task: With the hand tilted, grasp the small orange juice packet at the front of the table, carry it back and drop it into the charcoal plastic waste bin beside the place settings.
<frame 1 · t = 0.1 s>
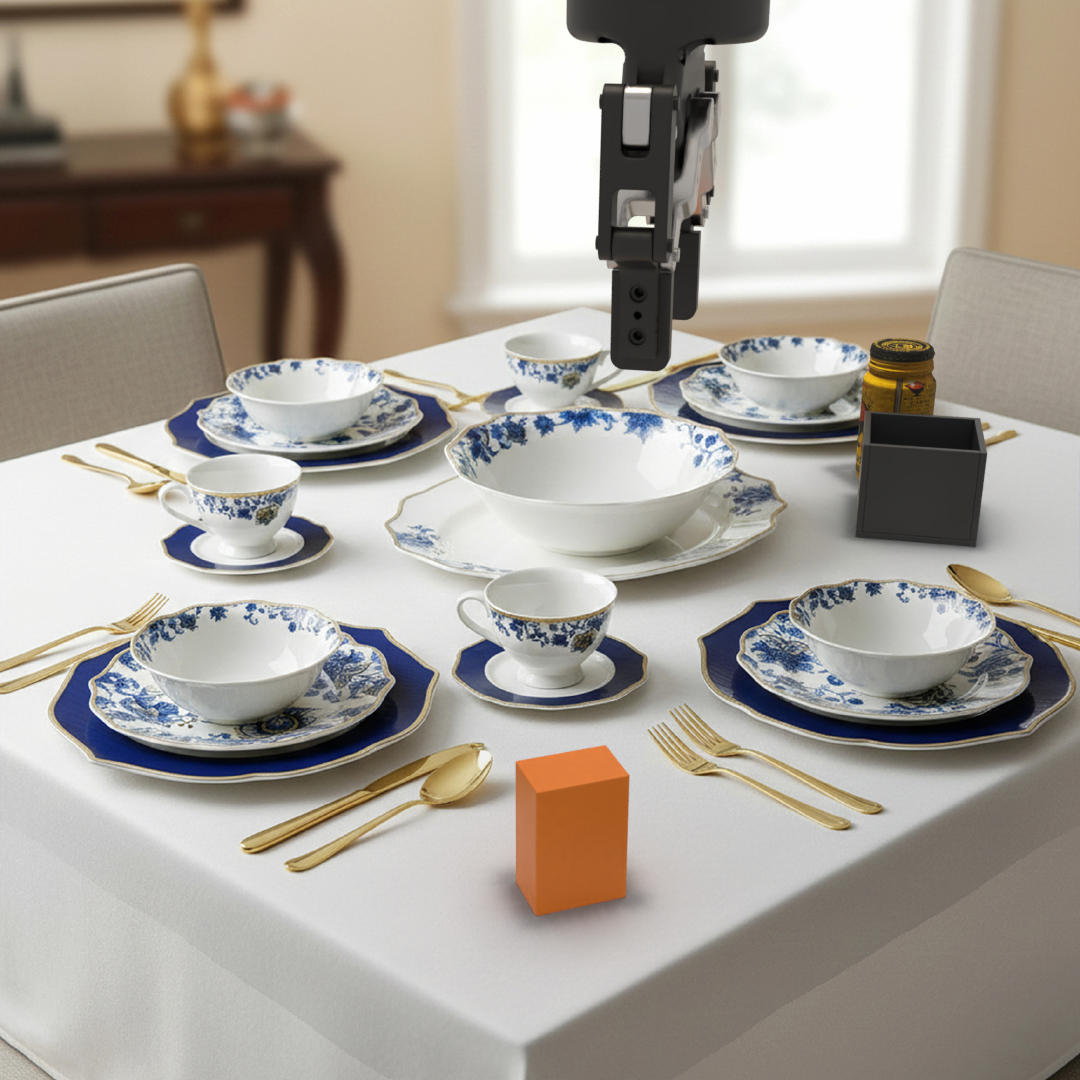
hand: (656, 341, 59), 28 cm above the table, tool pointing down, fingers open, 8 cm apart
packet: (570, 893, 71), on the table
condiment: (899, 482, 126), on the table
bin: (913, 524, 116), on the table
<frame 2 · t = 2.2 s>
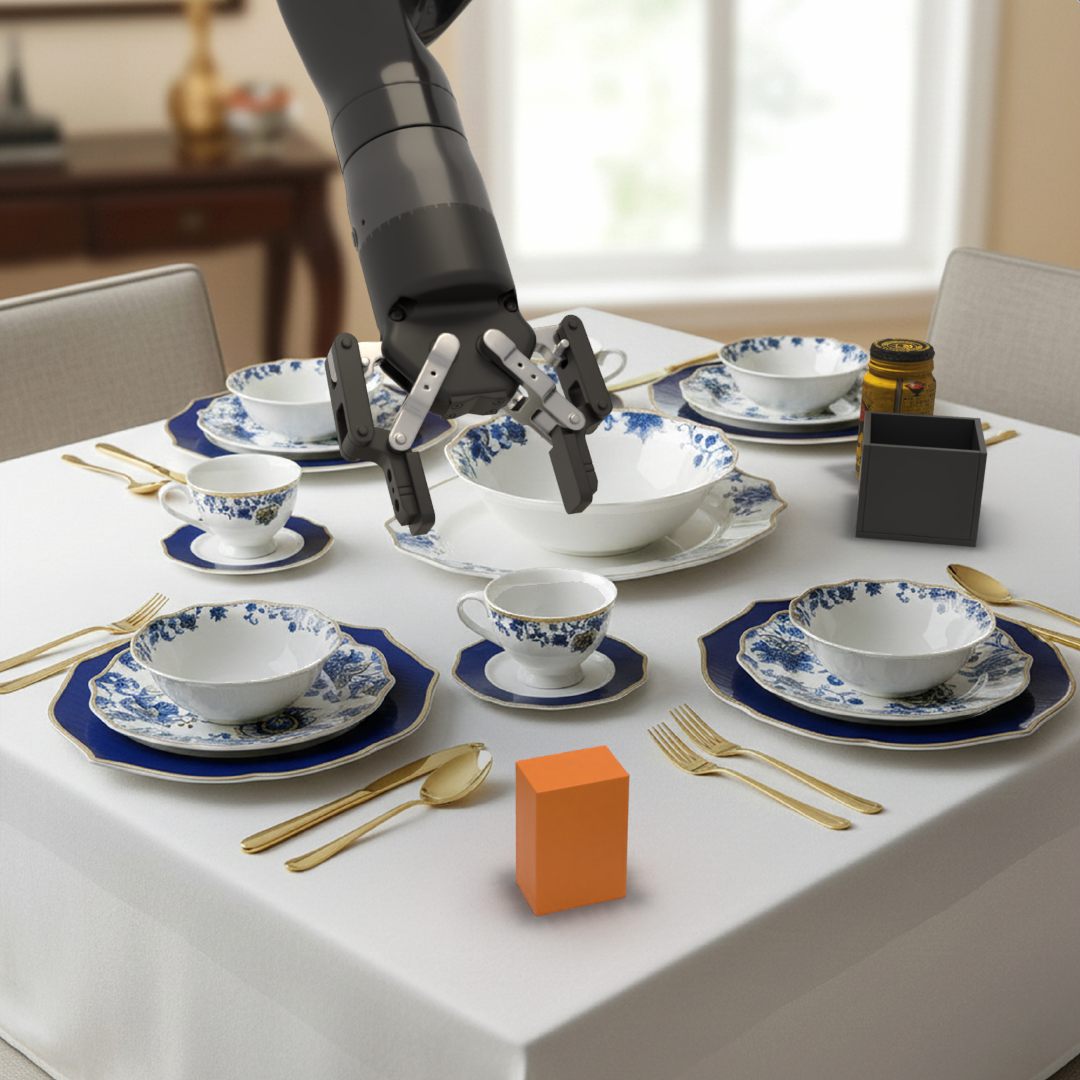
hand: (504, 519, 73), 16 cm above the table, tool tilted 40°, fingers open, 8 cm apart
nothing on the table moved.
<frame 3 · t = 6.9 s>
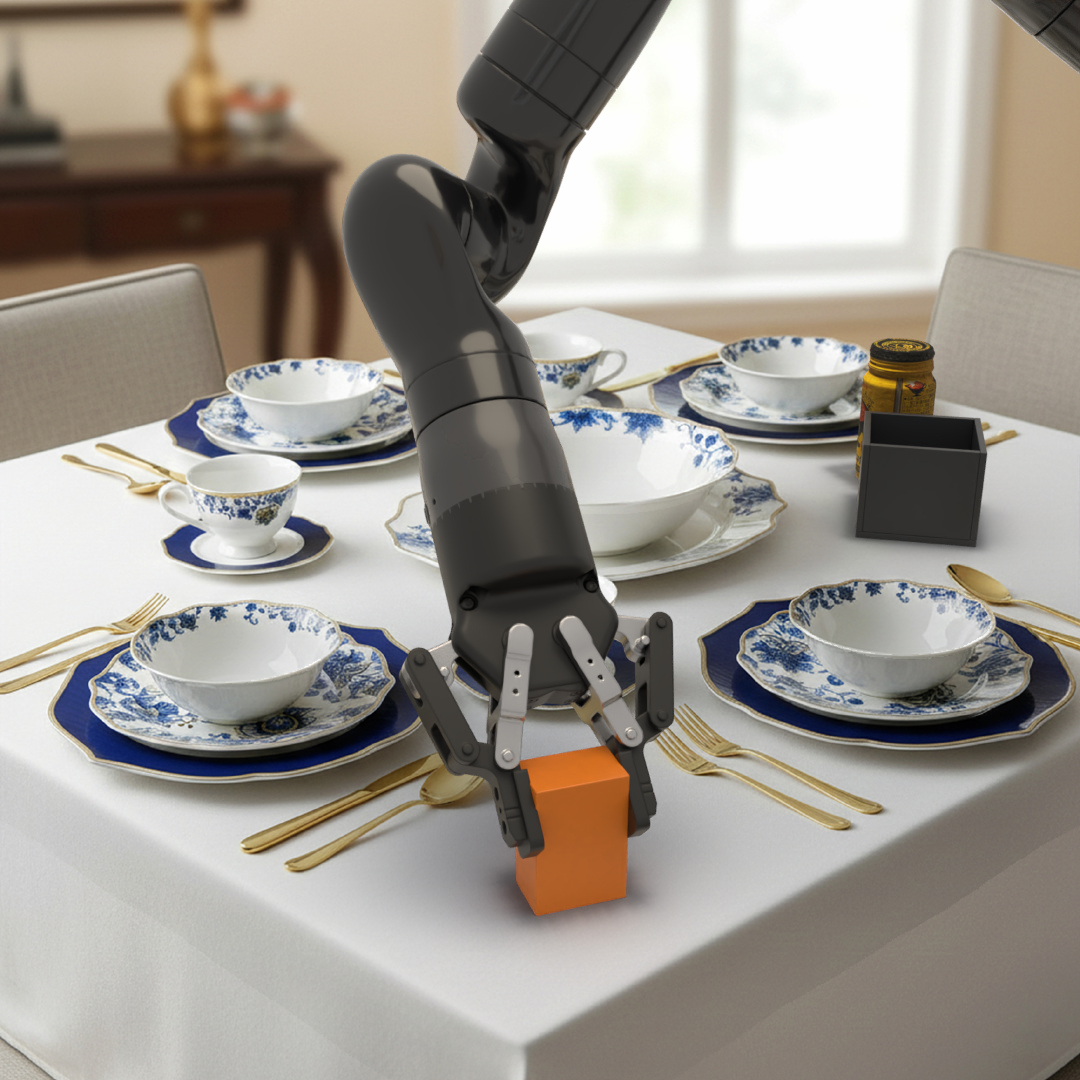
hand: (586, 841, 68), 4 cm above the table, tool tilted 45°, fingers closed on packet, 4 cm apart
packet: (570, 893, 71), on the table, touching gripper
everything else where it was.
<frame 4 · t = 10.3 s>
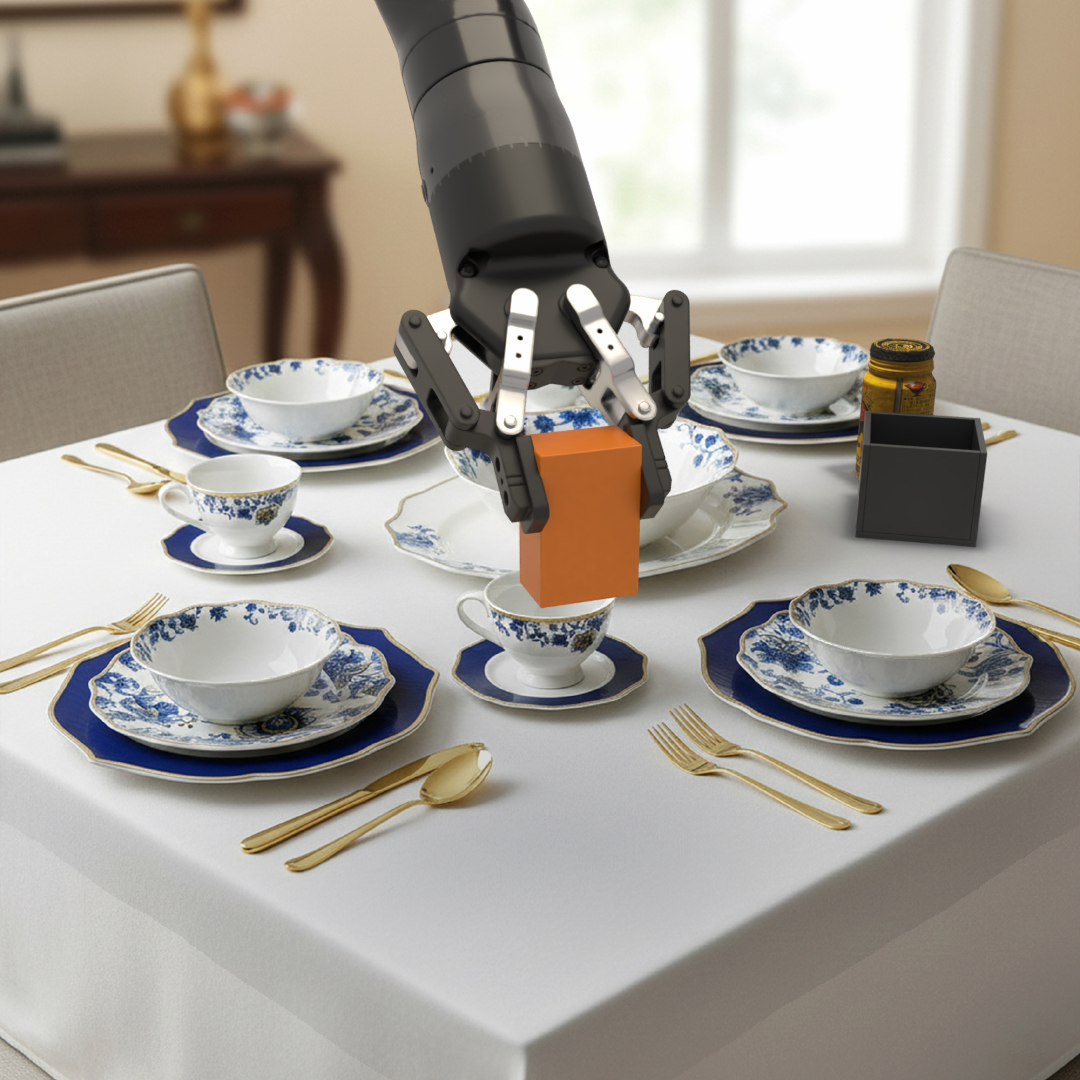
hand: (595, 517, 62), 20 cm above the table, tool tilted 45°, fingers closed on packet, 4 cm apart
packet: (578, 588, 66), point 16 cm above the table, touching gripper
everything else where it was.
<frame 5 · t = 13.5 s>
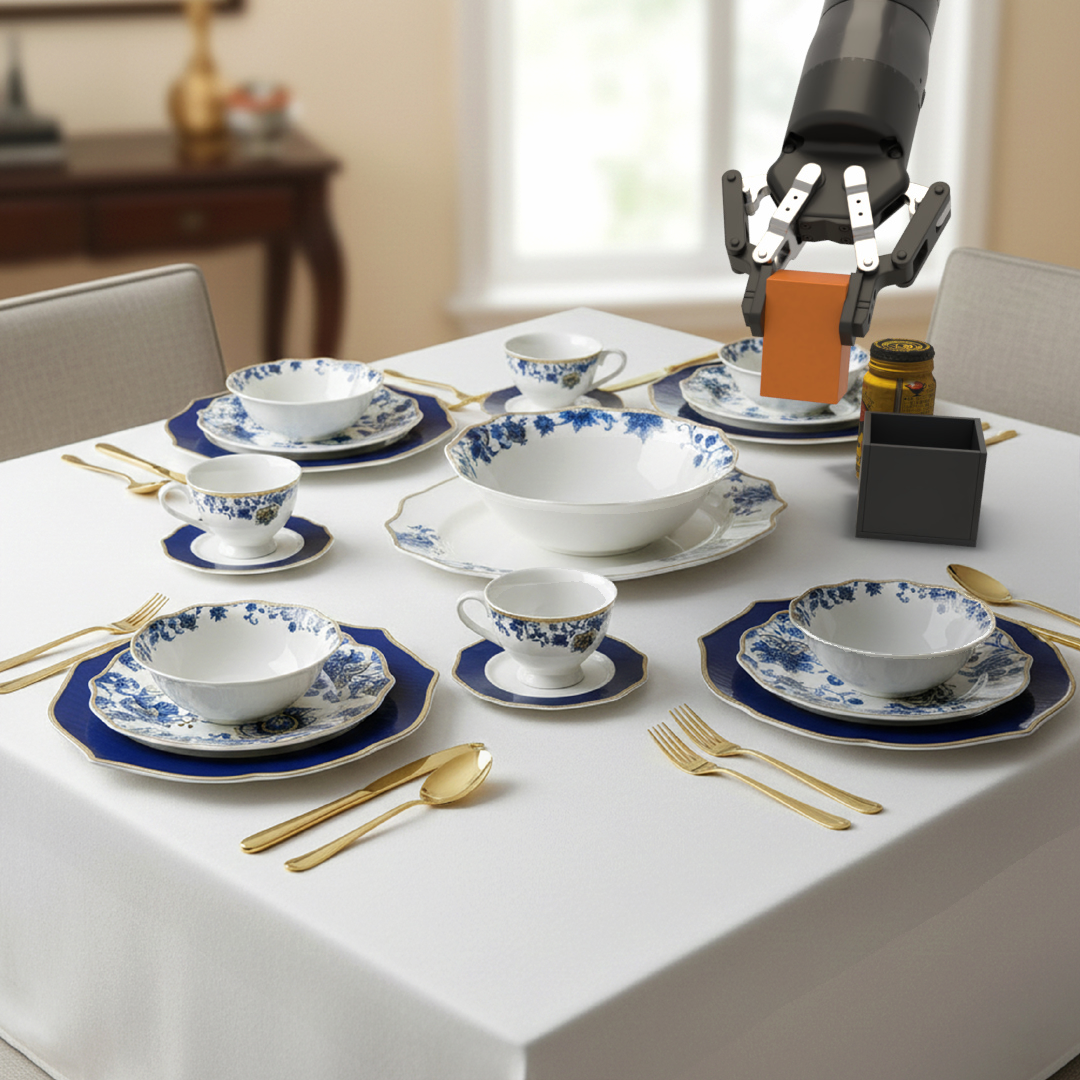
hand: (801, 333, 84), 22 cm above the table, tool tilted 45°, fingers closed on packet, 4 cm apart
packet: (803, 394, 87), point 18 cm above the table, touching gripper
everything else where it was.
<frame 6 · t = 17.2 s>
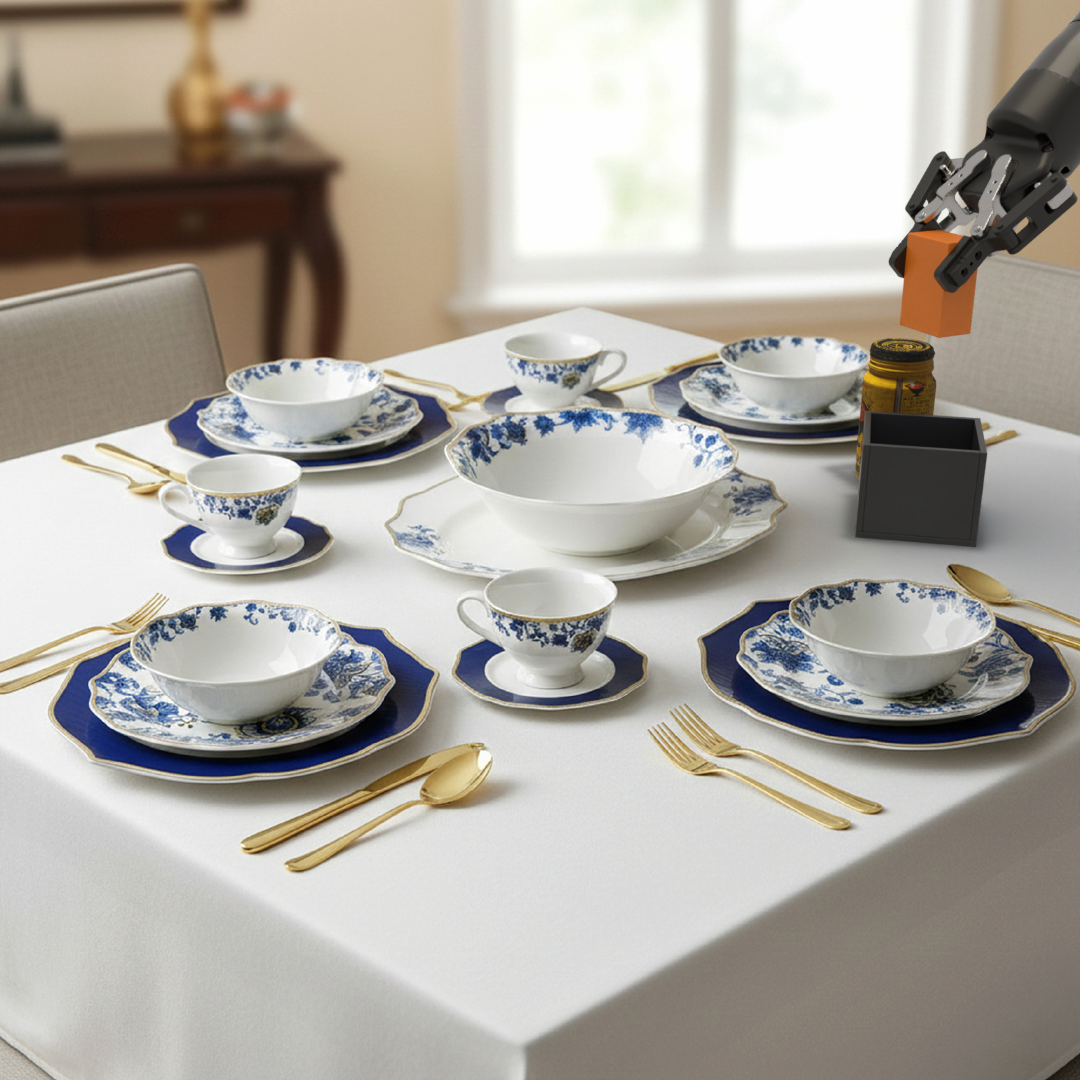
hand: (919, 277, 108), 20 cm above the table, tool tilted 45°, fingers closed on packet, 4 cm apart
packet: (934, 329, 110), point 16 cm above the table, touching gripper
everything else where it was.
when the fingers open (10 cm above the table, at t = 20.4 s): packet drops 5 cm, resting on bin.
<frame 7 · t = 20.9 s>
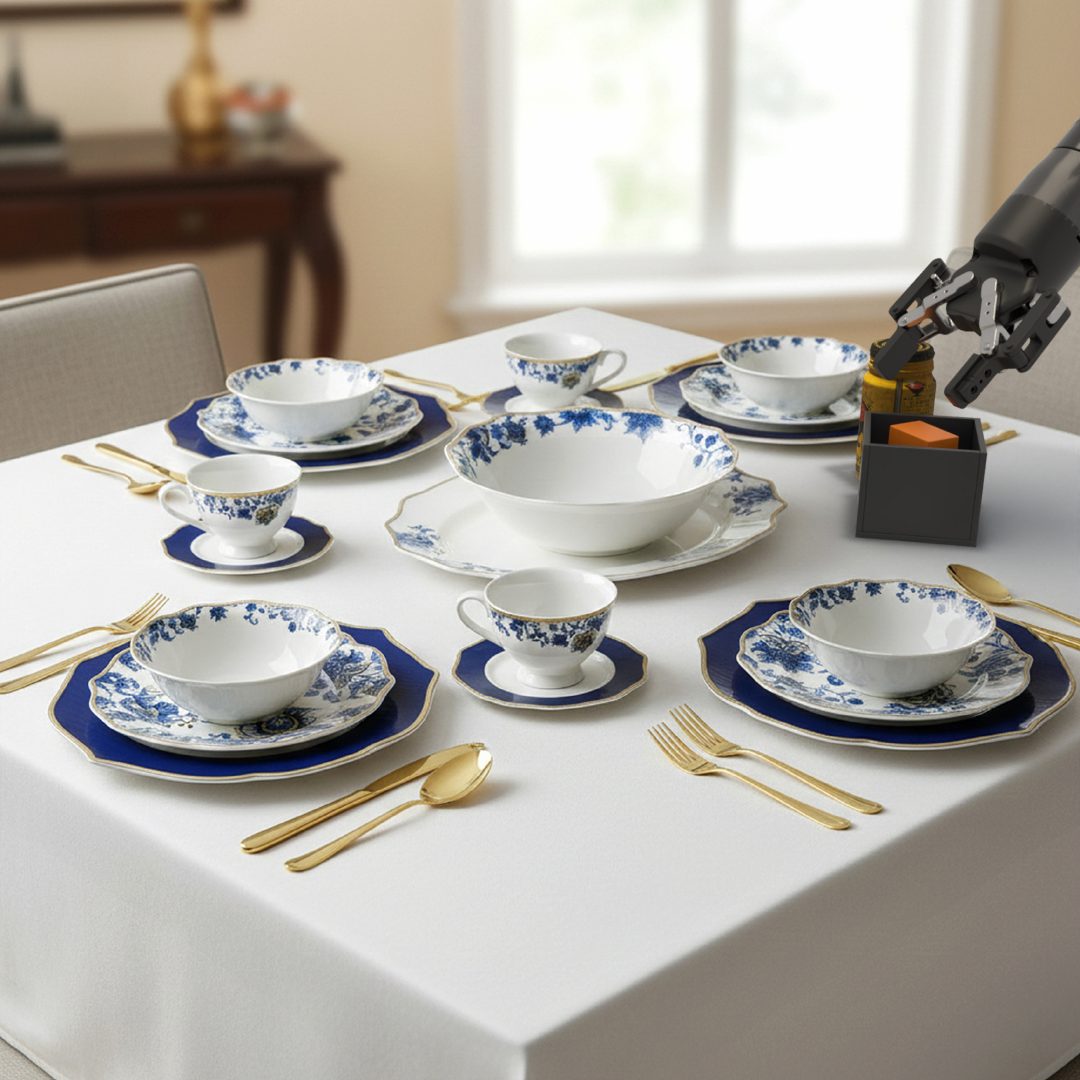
hand: (915, 387, 111), 11 cm above the table, tool tilted 45°, fingers open, 8 cm apart
packet: (915, 515, 116), point 1 cm above the table, touching bin
everything else where it was.
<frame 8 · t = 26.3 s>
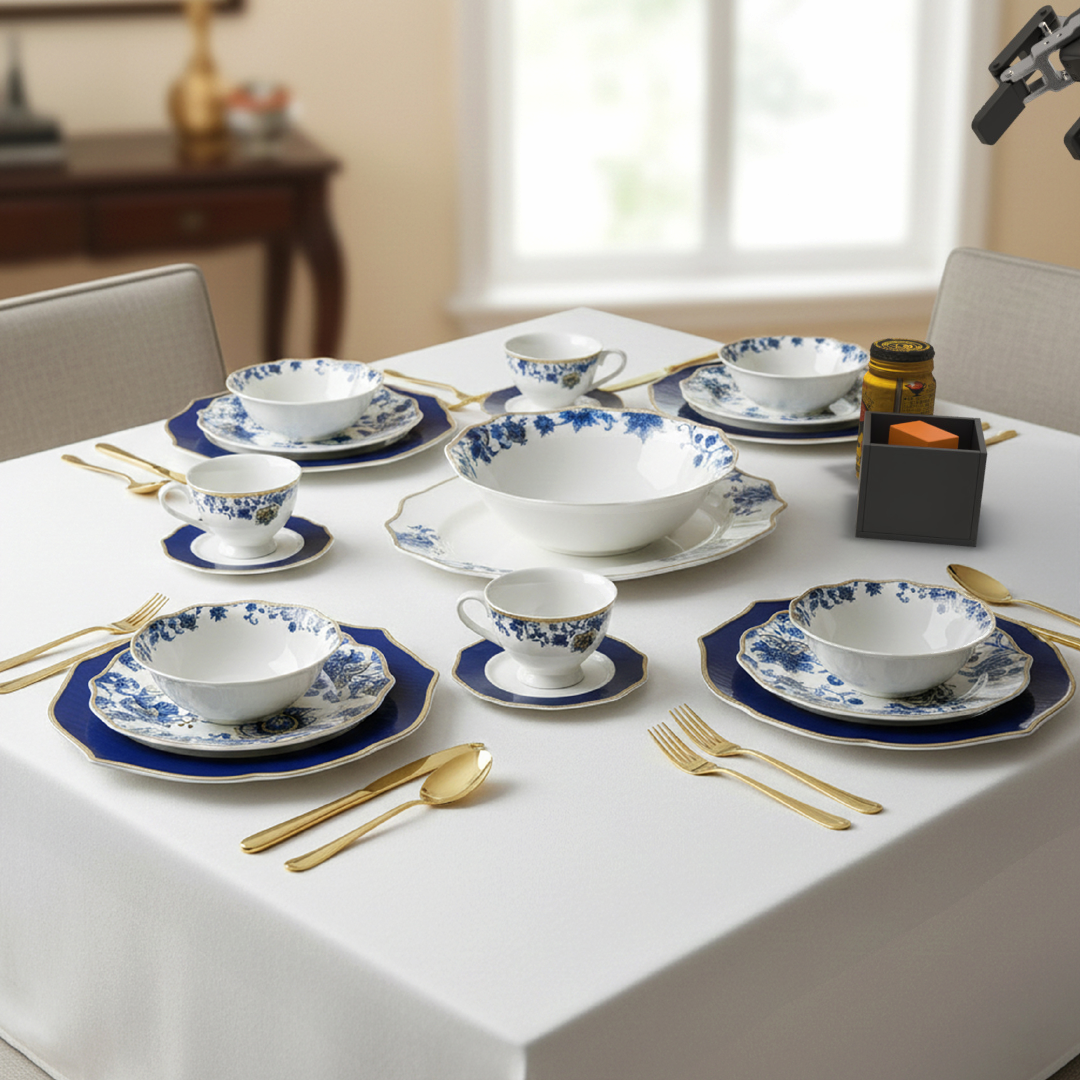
hand: (1025, 144, 95), 31 cm above the table, tool tilted 45°, fingers open, 8 cm apart
nothing on the table moved.
at the end: packet inside the target area in the bin (0.1 cm from its centre), point 0.8 cm above the bin's base; the gripper is holding nothing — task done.
